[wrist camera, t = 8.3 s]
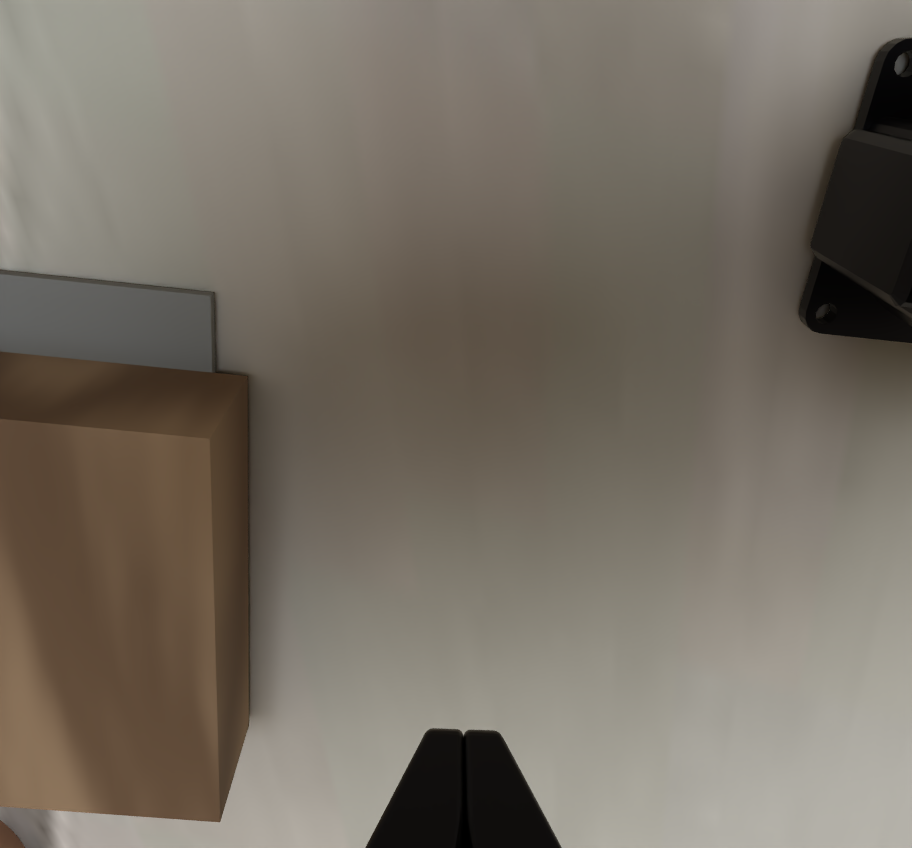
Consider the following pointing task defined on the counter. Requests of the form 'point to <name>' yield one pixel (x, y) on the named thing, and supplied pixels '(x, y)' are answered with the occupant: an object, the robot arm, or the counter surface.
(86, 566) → the slab
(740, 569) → the counter surface
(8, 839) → the peach rounded cylinder
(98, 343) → the mat
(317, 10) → the counter surface
